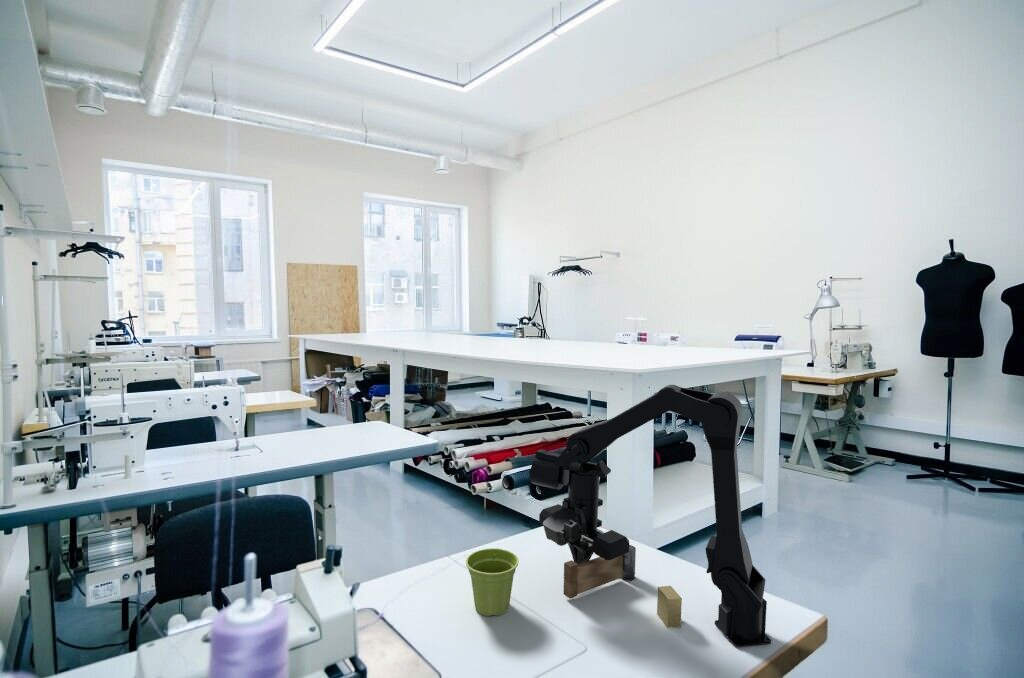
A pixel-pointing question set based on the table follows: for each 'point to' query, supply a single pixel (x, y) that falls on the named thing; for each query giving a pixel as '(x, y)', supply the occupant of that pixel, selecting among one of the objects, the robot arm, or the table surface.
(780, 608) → the table surface
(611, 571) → the wooden t-bar
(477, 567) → the plant pot
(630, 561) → the grey metal cylinder
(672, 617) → the block
